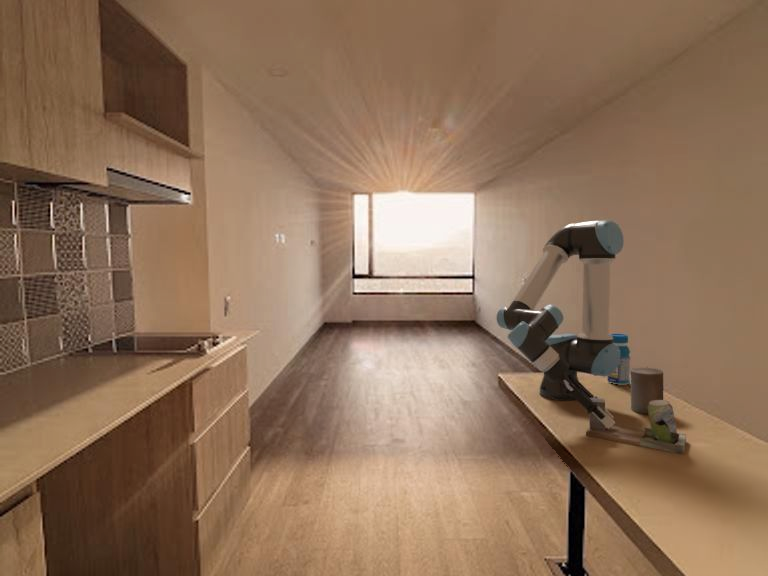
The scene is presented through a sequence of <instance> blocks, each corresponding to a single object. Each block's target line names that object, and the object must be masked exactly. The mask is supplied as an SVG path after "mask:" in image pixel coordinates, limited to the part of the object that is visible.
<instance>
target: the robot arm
mask: <svg viewBox="0 0 768 576" xmlns="http://www.w3.org/2000/svg"><path fill="white" fill-rule="evenodd" d="M623 248H624V235H623V232H622V229H621V228H620V226H619V224H618V223H616V221H613V220H608V219H607V220H605V219H604V220H602V219H600V220H594V221H593V220H592V221H583V222H572V223H569V224H567V225H565V226H563V227H562V228H560V229H558V231H556V232H555V233H554V234H553V235H551V237H550V238H549V240H548V241H547V242H546V244H545V245H544V246H543V248H542V254H541V256H540V258H539V259H538V261H537V263H536V264H535V266H534V267H533V269H532V270H531V272H530V273H529V275H528V277H527V278H526V280H525V281H524V283H523V285H522V286H521V287H520V289H519V291H518V292H517V294H516V296H515V297H514V299H513V300H512V302H511V303H510V305H509V307H508V306H505V307H502V308H499V310H498V311H497V313H496V318H495V319H496V323H497V325H498V326H499V327H500V328H502V329H505V330H509V331H510V332H509V333H508V335H507V338H508V340H509V341H510V343H512V345H513V346H514V347H515V348H516V349H517V350H518V351H520V353H522V354H523V356H525V357H526V358H527V359H528V361H530V362H531V363H532V364H533V367H534V368H537V369H538V370H539V371H540V372H543V377H542V378H541V379H542V380H541V382H540V385H539V395H540V394H541V395H540V396H542V397H544V398H547V399H550V398H551V399H552V400H555V399H557V401H577V402H578V403H579V404H580V405H582V407H583V408H584V409H586V411H587V414H589V415H590V413H591V412H592V413H593V414H594V415H595V416H596V417H597V418H598V419H599V420H600V421H601V422H602V423H603V424H604V425H605V426H606V427H607V428H608V429H609V428H610V427H611V426H613V425H616V421H615V420H614V416H613V415H612V413H610V412H609V410H607V409H606V408H605V412H604V411H603V410H602V409H601V408H600V407H599V406H597V405H596V404H595V403H594V402H593V401H592V400H591V399H590V398H598V397H597V396H594V394H593V393H591V392H590V391H589V390H588V389H587V387H585V386H584V385H583V384H582V383H581V382H580V380H579V378H578V373H583V374H589V375H593V376H594V377H595V376H596V377H603V378H604V377H608V376H609V375H611V374H612V373H613V372H614V371H615V370H616V368H617V367H618V364H619V361H620V350H619V347H618V346H617V345H615V344H613V337H612V336H611V335H610V334H611V333H609V331H610V330H609V328H610V327H609V325H610V294H611V293H610V292H611V291H610V290H611V288H610V287H611V264H612V263H613V262H614V261H615V260H616V255H618V254H620V253H621V252H622V250H623ZM576 255H578V260H579V262H581V263H582V264H583V270H582V272H583V273H582V274H583V275H582V304H581V305H582V308H581V309H582V312H581V313H582V314H581V315H582V316H581V331H580V332H579V333H578V334H575V333H560V334H554V333H555V332H556V330H558V329H559V327H560V326H561V324H562V323H563V322H564V315H563V312H562V311H561V310H560V308H558V307H557V306H555V305H552V304H547V305H545V306H543V307H542V308H540V310H538V309H537V310H535V308H536V307H537V305H538V303H539V302H540V301H541V298H542V297H543V295H544V293H545V292H546V290H547V289H548V287H549V286H550V284H551V283H552V280H553V279H554V278H555V276H556V275H557V272H558V271H559V269H560V268H561V266H562V265H563V264H565V263H567V262H568V260H569V259H570V258H571V257H573V256H576Z"/></svg>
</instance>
